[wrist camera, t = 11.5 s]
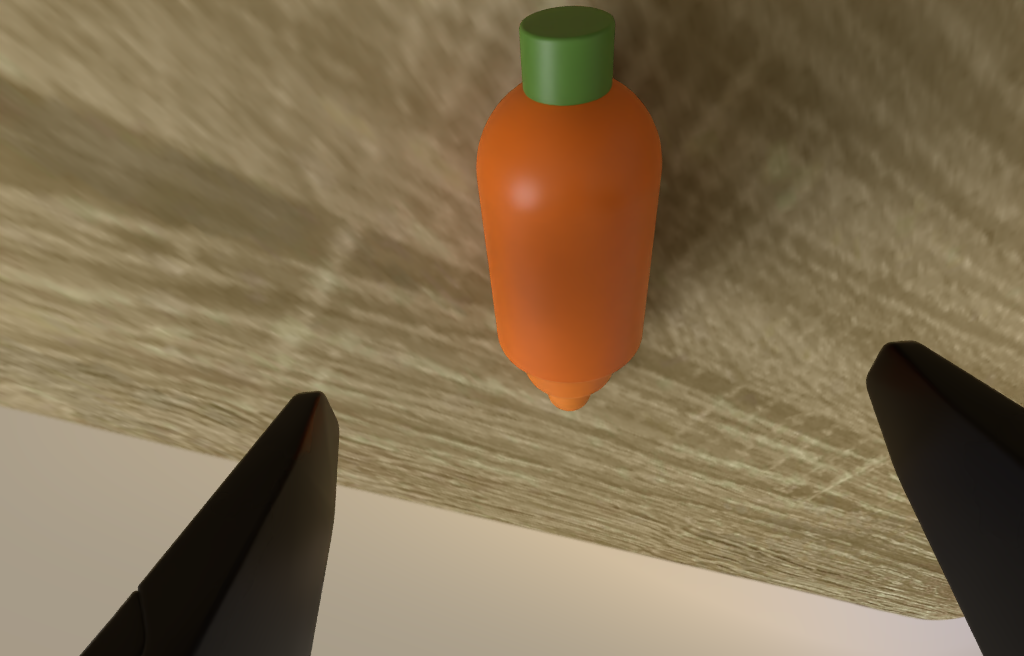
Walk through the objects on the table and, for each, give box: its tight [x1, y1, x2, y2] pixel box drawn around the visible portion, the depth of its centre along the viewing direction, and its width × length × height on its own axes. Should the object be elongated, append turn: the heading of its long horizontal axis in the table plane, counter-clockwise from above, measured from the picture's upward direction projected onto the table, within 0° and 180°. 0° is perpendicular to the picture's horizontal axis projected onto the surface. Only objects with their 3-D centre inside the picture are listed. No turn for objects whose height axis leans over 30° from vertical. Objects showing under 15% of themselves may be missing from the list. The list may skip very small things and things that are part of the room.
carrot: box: [476, 6, 662, 411], centre depth 12 cm, size 10×3×3 cm, turn 4°
